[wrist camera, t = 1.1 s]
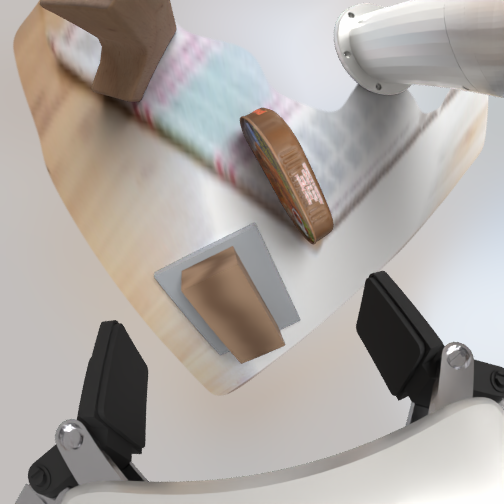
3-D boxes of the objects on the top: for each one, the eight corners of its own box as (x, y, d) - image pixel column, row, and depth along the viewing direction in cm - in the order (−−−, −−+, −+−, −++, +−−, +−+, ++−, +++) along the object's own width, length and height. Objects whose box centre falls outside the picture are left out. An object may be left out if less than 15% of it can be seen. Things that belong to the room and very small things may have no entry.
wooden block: (140, 102, 24) (64, 105, 8) (103, 92, 22) (-2, 91, 7) (178, 28, 20) (160, -60, 5) (140, 18, 18) (83, -64, 3)
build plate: (254, 222, 33) (256, 226, 32) (298, 316, 43) (300, 320, 42) (154, 272, 34) (154, 276, 33) (219, 350, 43) (220, 355, 43)
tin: (232, 116, 26) (246, 121, 19) (258, 103, 26) (282, 103, 19) (292, 225, 34) (318, 261, 27) (313, 212, 34) (345, 245, 27)
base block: (232, 245, 33) (237, 264, 30) (278, 326, 41) (285, 345, 38) (181, 270, 33) (181, 290, 30) (237, 343, 42) (241, 363, 38)
